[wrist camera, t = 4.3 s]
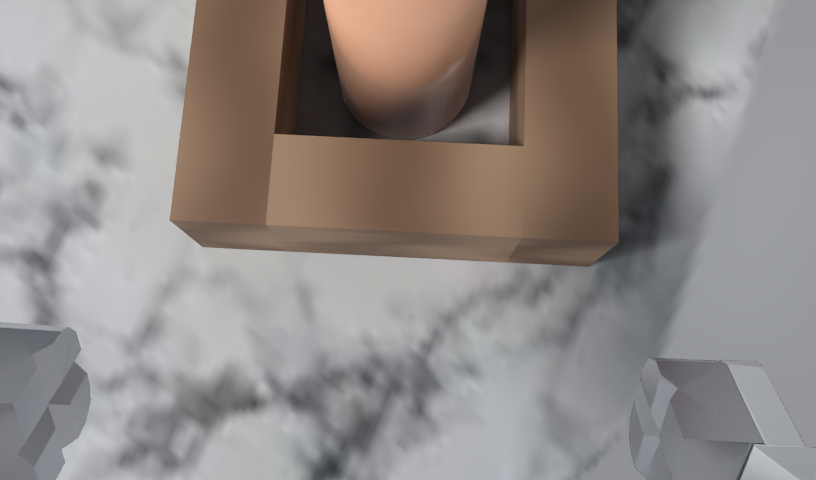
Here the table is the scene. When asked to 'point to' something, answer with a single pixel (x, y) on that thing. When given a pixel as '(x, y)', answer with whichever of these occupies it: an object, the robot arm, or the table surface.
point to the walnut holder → (401, 150)
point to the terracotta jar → (405, 60)
